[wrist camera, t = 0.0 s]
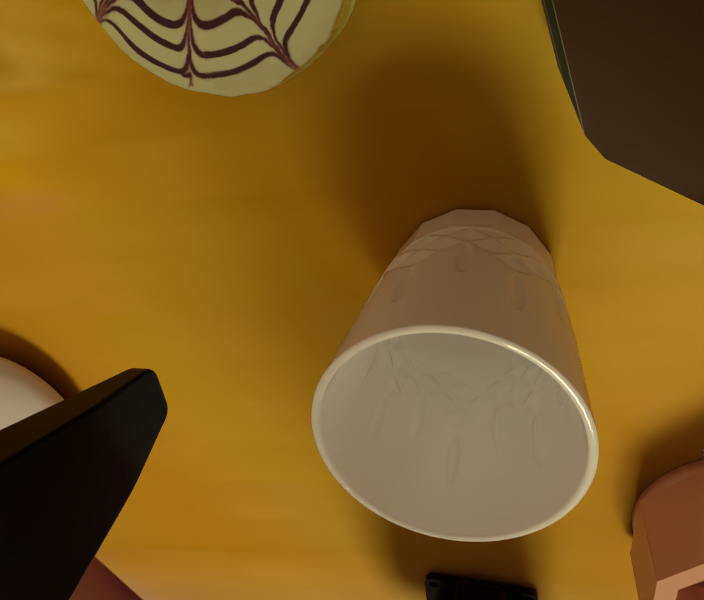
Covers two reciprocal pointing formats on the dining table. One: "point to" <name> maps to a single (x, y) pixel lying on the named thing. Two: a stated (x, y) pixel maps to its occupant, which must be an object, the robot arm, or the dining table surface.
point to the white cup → (461, 388)
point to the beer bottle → (637, 83)
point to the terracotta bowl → (670, 536)
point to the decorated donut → (223, 39)
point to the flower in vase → (22, 393)
